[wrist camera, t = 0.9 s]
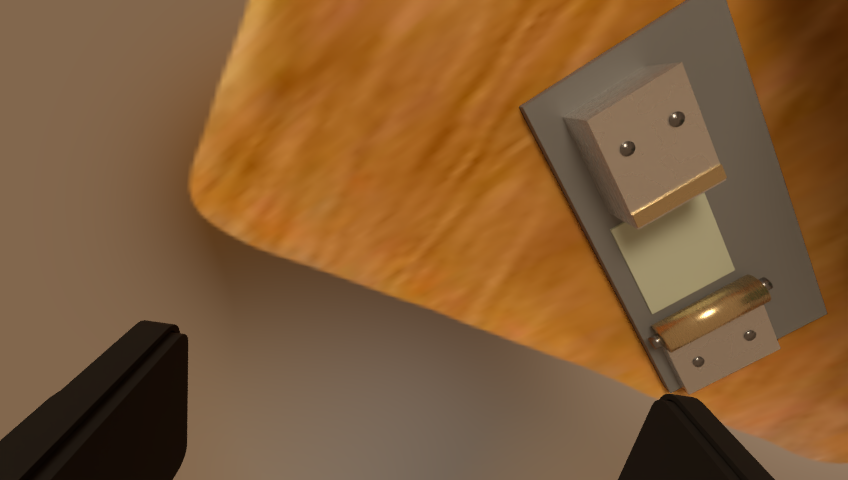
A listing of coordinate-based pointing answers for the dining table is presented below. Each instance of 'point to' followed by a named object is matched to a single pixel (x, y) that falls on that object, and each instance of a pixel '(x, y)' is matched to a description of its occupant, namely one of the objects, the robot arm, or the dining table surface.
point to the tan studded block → (646, 144)
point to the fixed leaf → (717, 333)
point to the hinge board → (705, 214)
